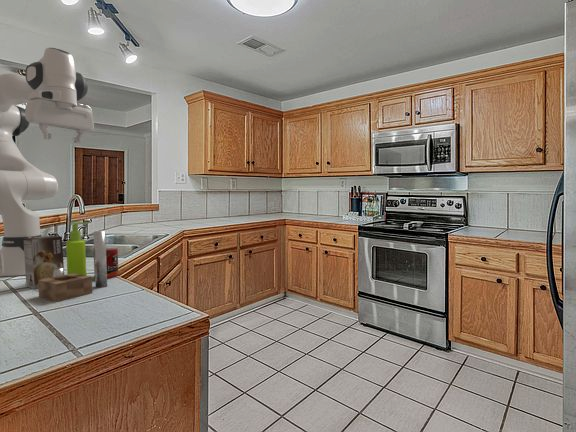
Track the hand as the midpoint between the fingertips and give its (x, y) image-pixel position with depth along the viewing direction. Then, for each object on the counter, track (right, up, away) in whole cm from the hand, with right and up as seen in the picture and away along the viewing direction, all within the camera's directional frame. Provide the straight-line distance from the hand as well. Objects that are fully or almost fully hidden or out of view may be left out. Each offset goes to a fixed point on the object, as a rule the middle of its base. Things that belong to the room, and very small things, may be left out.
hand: (63, 141), depth 116 cm
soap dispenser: (-1, -48, +11) cm, 49 cm away
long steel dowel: (+14, -48, -3) cm, 50 cm away
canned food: (+9, -48, +10) cm, 50 cm away
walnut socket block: (+9, -49, -12) cm, 51 cm away
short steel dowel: (0, -48, -3) cm, 48 cm away
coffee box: (-5, -48, -1) cm, 49 cm away
